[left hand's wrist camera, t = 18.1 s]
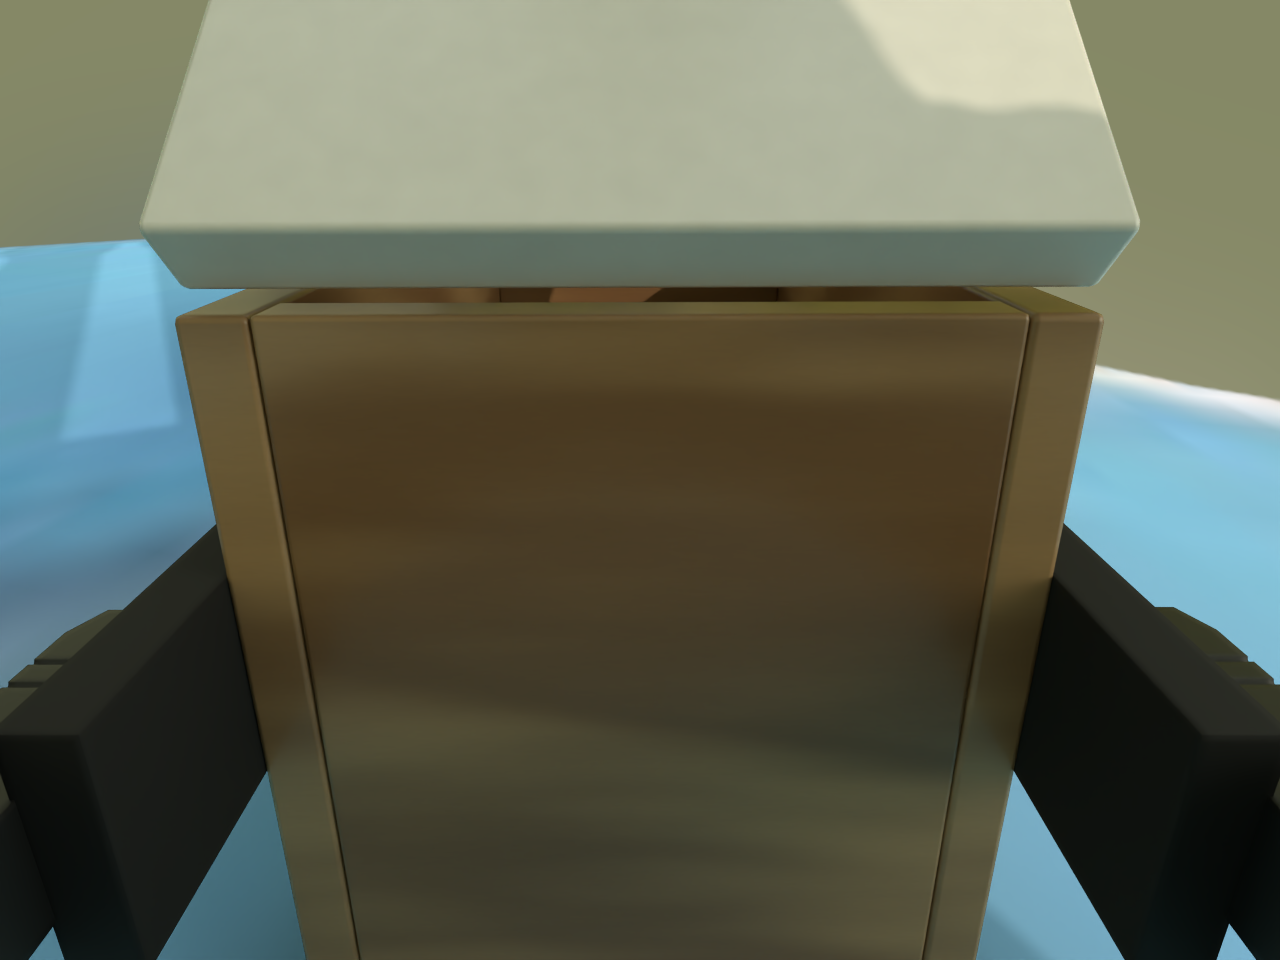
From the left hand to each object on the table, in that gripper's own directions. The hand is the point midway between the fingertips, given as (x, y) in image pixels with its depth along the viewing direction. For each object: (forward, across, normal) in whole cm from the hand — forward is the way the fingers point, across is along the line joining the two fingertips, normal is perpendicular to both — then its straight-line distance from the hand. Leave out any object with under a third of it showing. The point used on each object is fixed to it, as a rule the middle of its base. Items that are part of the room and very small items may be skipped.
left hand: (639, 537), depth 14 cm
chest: (+4, 0, -6) cm, 8 cm away
